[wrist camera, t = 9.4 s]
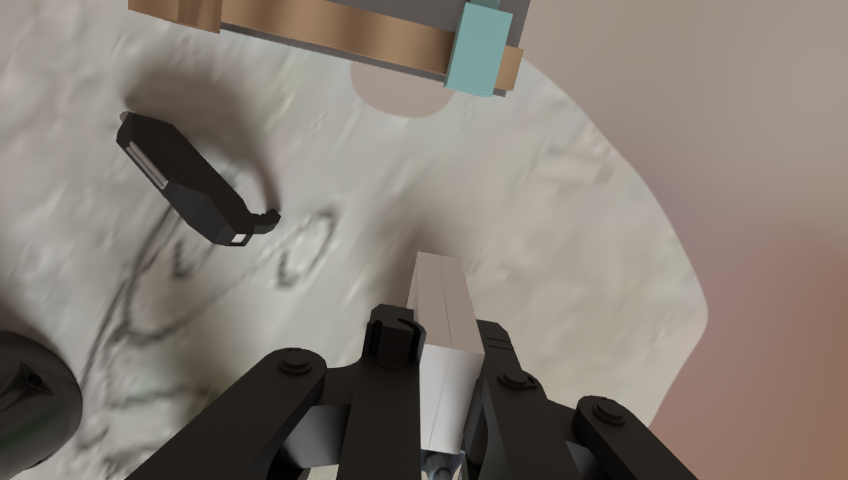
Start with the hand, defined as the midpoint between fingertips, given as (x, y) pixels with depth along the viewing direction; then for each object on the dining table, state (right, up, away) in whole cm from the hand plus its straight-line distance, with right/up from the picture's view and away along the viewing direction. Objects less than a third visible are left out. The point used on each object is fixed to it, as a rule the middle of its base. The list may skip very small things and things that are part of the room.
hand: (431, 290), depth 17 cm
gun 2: (-20, +8, +26) cm, 34 cm away
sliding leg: (+4, +19, +21) cm, 29 cm away
